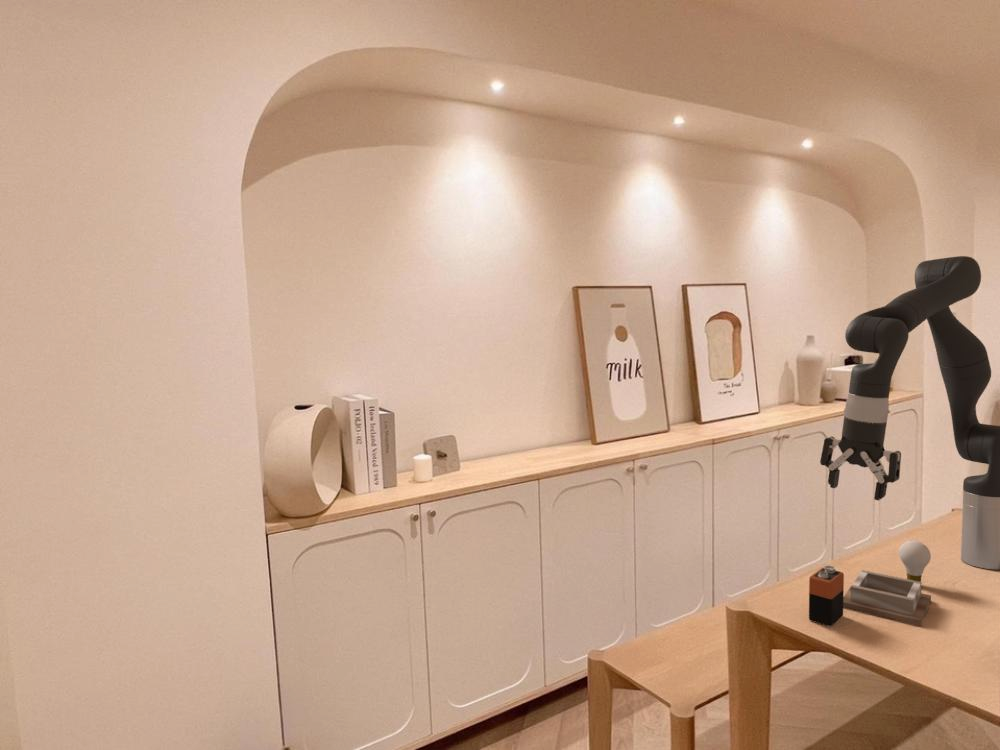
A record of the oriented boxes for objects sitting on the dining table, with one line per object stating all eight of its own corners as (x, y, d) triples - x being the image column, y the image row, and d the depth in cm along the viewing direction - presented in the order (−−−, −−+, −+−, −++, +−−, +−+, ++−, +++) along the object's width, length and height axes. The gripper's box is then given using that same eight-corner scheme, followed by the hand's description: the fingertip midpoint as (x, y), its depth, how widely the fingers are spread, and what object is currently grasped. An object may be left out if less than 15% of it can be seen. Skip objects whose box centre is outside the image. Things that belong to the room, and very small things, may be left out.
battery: (844, 616, 128) (844, 567, 128) (831, 627, 124) (831, 577, 123) (821, 609, 132) (821, 562, 131) (807, 620, 127) (808, 571, 126)
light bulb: (919, 592, 138) (921, 547, 137) (892, 583, 143) (893, 539, 142) (935, 586, 140) (936, 542, 140) (908, 577, 146) (909, 534, 145)
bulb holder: (855, 584, 143) (856, 566, 143) (930, 600, 134) (931, 581, 133) (840, 606, 132) (840, 587, 132) (920, 626, 123) (921, 605, 123)
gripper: (912, 421, 126) (900, 499, 128) (836, 407, 136) (827, 479, 139) (898, 427, 121) (886, 508, 124) (821, 412, 131) (811, 487, 134)
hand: (855, 493), depth 131 cm, fingers open, 8 cm apart
